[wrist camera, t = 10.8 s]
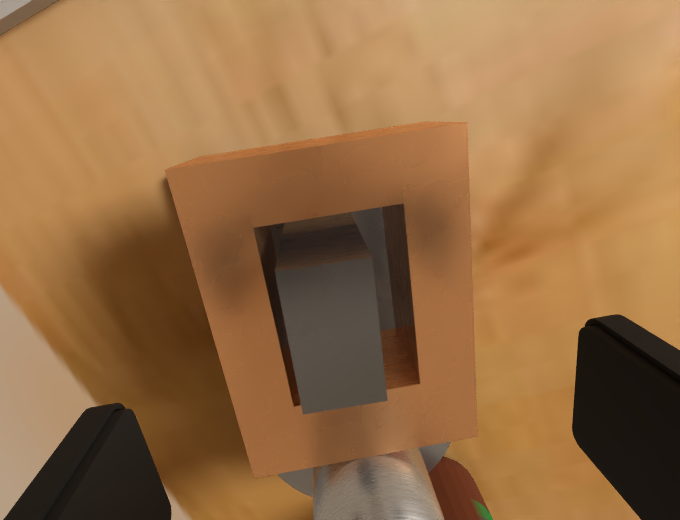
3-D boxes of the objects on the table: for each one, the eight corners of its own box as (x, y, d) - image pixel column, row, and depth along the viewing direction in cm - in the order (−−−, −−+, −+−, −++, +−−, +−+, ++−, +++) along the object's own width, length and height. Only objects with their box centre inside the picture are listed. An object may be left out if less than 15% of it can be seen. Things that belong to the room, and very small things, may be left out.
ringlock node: (173, 154, 20) (-119, 236, 6) (443, 112, 21) (744, 99, 7) (253, 441, 27) (200, 805, 13) (458, 404, 27) (628, 711, 13)
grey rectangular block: (290, 194, 20) (274, 271, 10) (338, 187, 21) (372, 257, 10) (304, 275, 22) (302, 414, 12) (349, 268, 22) (387, 400, 12)
